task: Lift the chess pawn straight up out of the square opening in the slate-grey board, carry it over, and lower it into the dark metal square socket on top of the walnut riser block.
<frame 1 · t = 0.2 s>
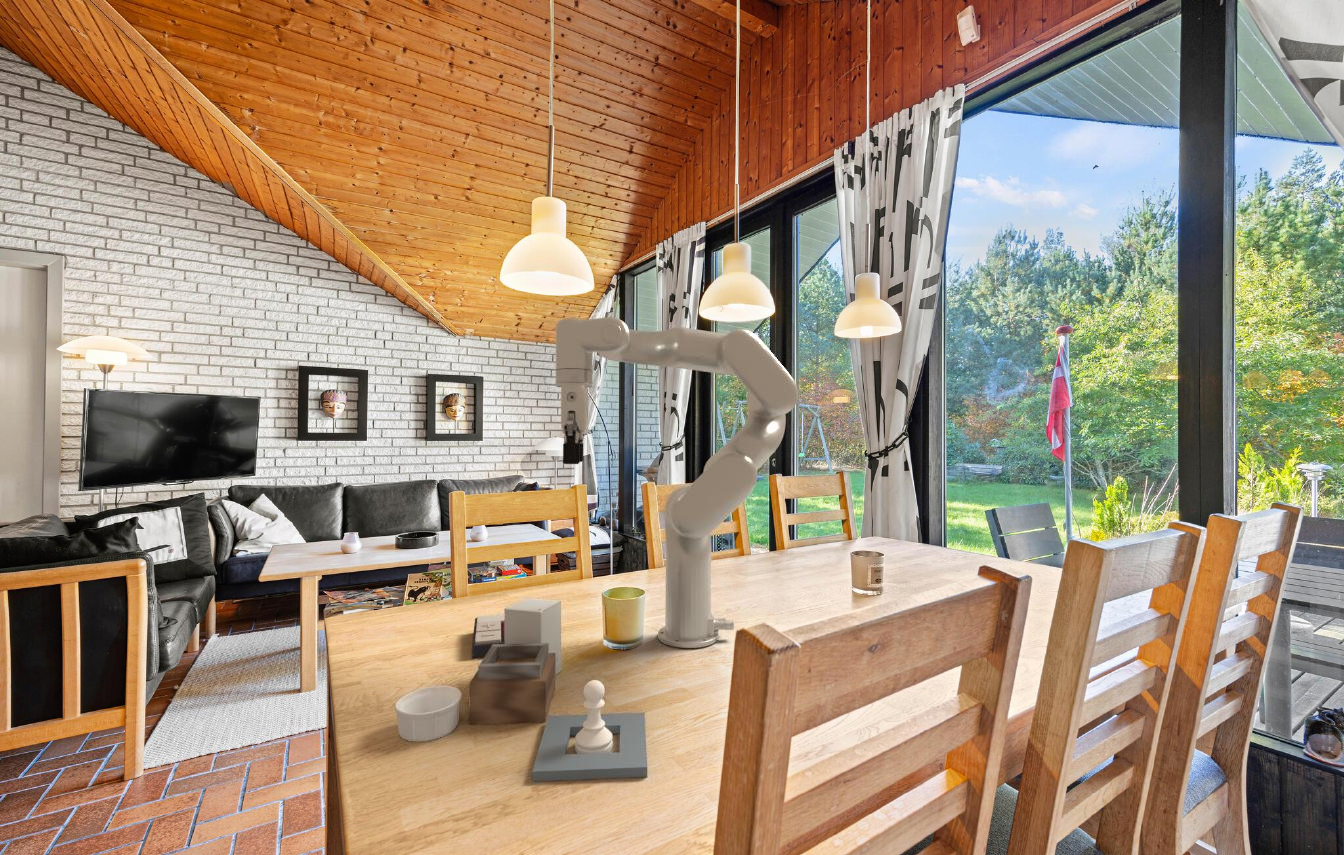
hand: (573, 462, 118), 37 cm above the table, tool pointing down, fingers open, 9 cm apart
supplement box: (533, 677, 100), on the table
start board: (593, 748, 77), on the table
riser socket: (515, 705, 89), on the table
chess pawn: (593, 749, 77), resting in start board
ramekin: (428, 730, 82), on the table
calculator: (502, 645, 116), on the table
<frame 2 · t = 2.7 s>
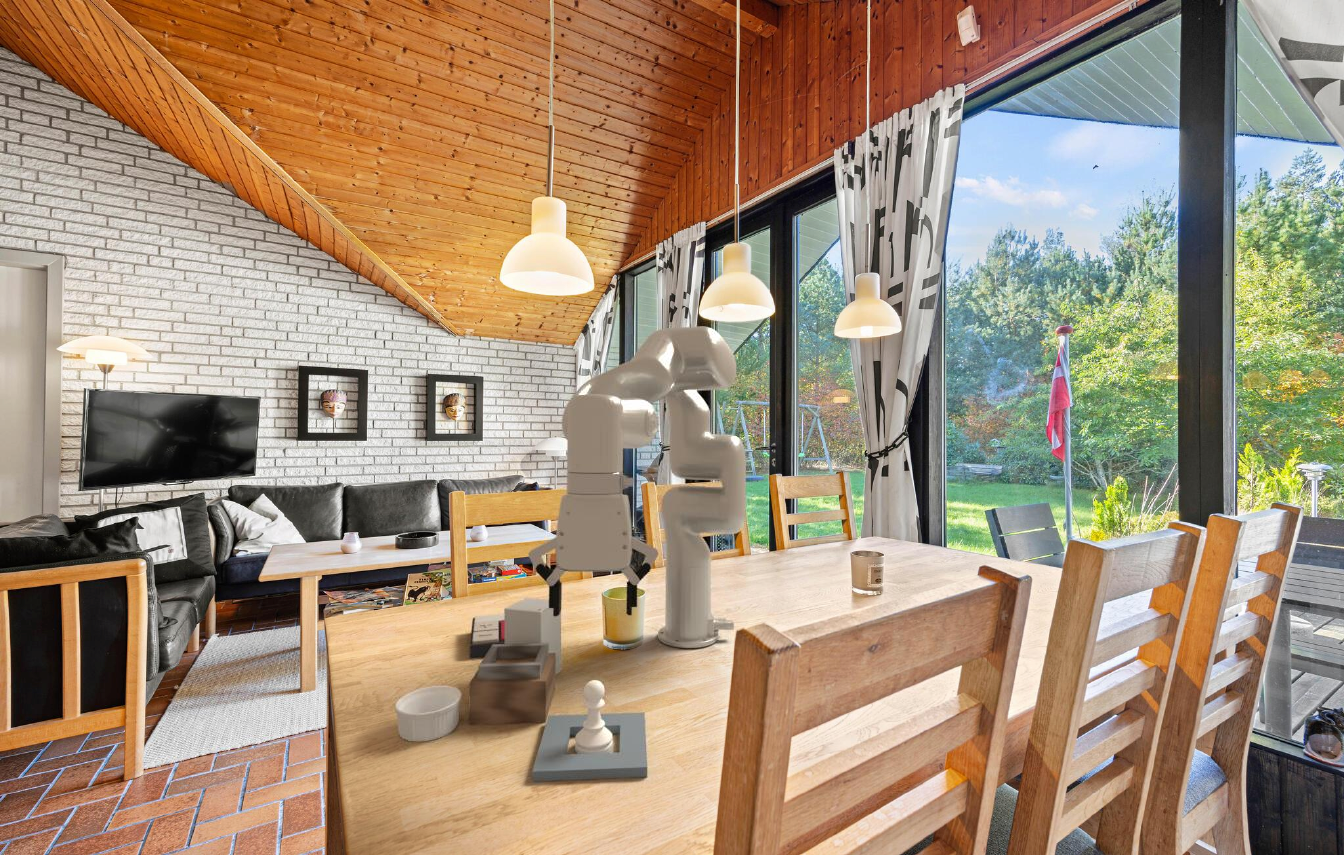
hand: (593, 612, 77), 18 cm above the table, tool pointing down, fingers open, 9 cm apart
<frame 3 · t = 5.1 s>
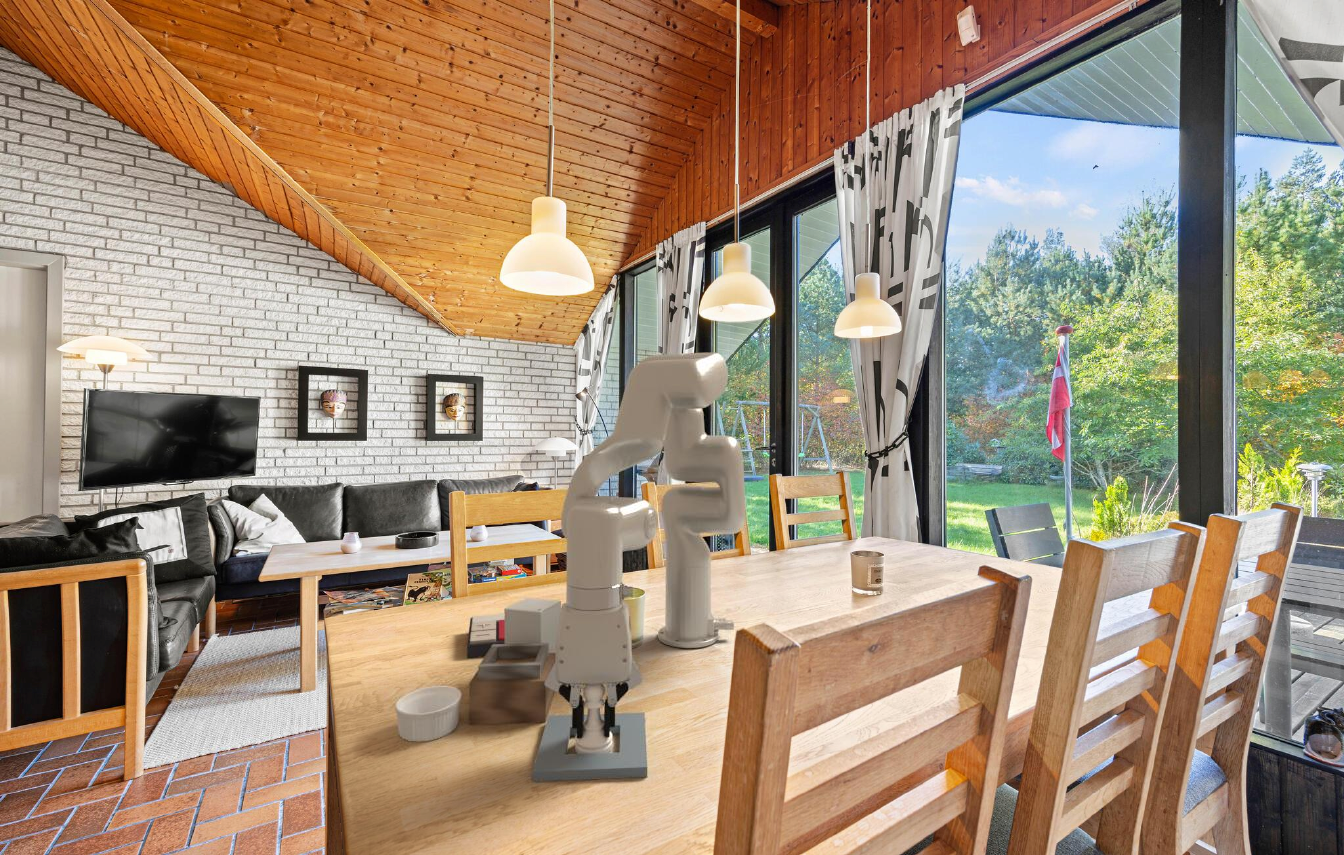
hand: (593, 731, 77), 2 cm above the table, tool pointing down, fingers closed on chess pawn, 3 cm apart
chess pawn: (593, 749, 77), resting in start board, touching gripper
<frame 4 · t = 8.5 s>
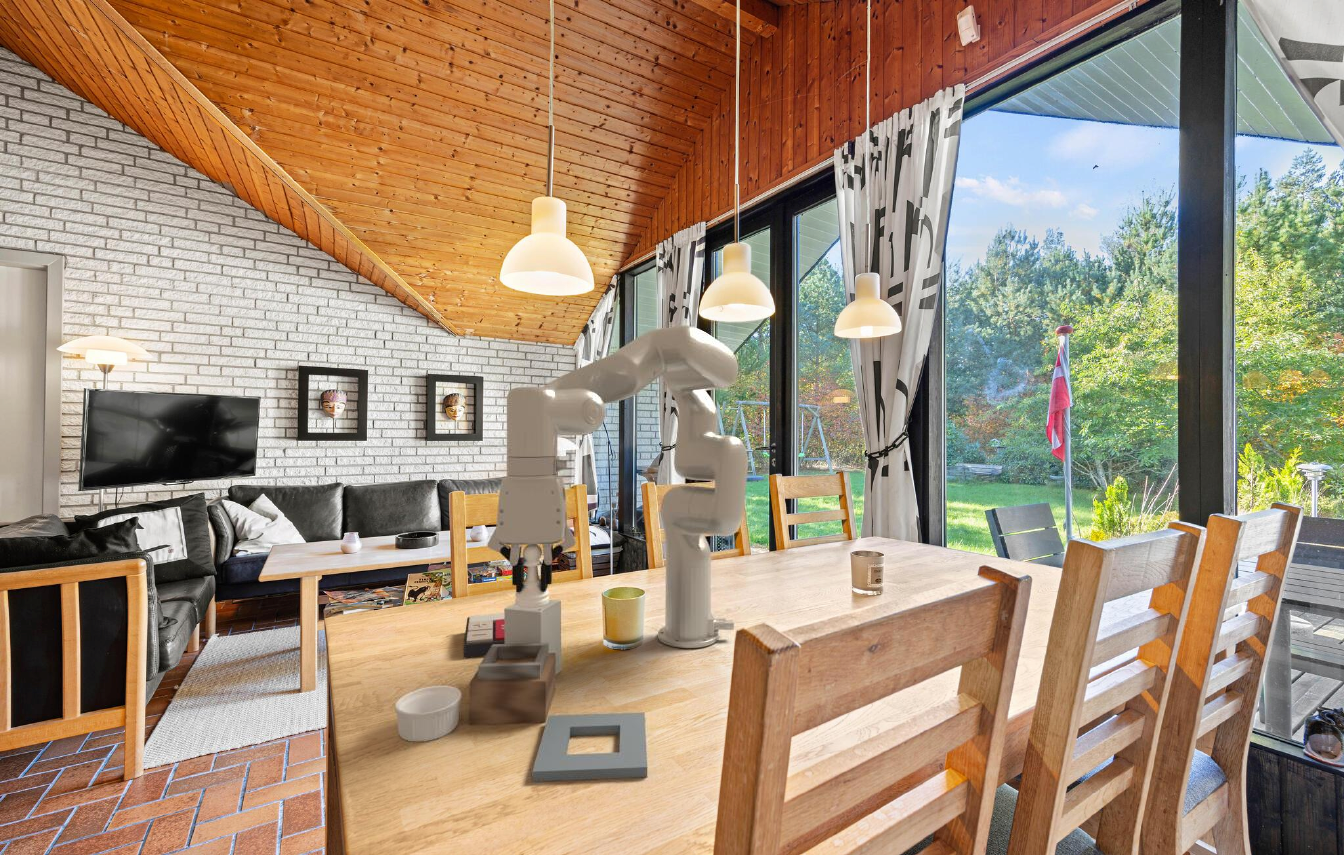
hand: (532, 588, 87), 19 cm above the table, tool pointing down, fingers closed on chess pawn, 3 cm apart
chess pawn: (532, 604, 87), point 16 cm above the table, touching gripper
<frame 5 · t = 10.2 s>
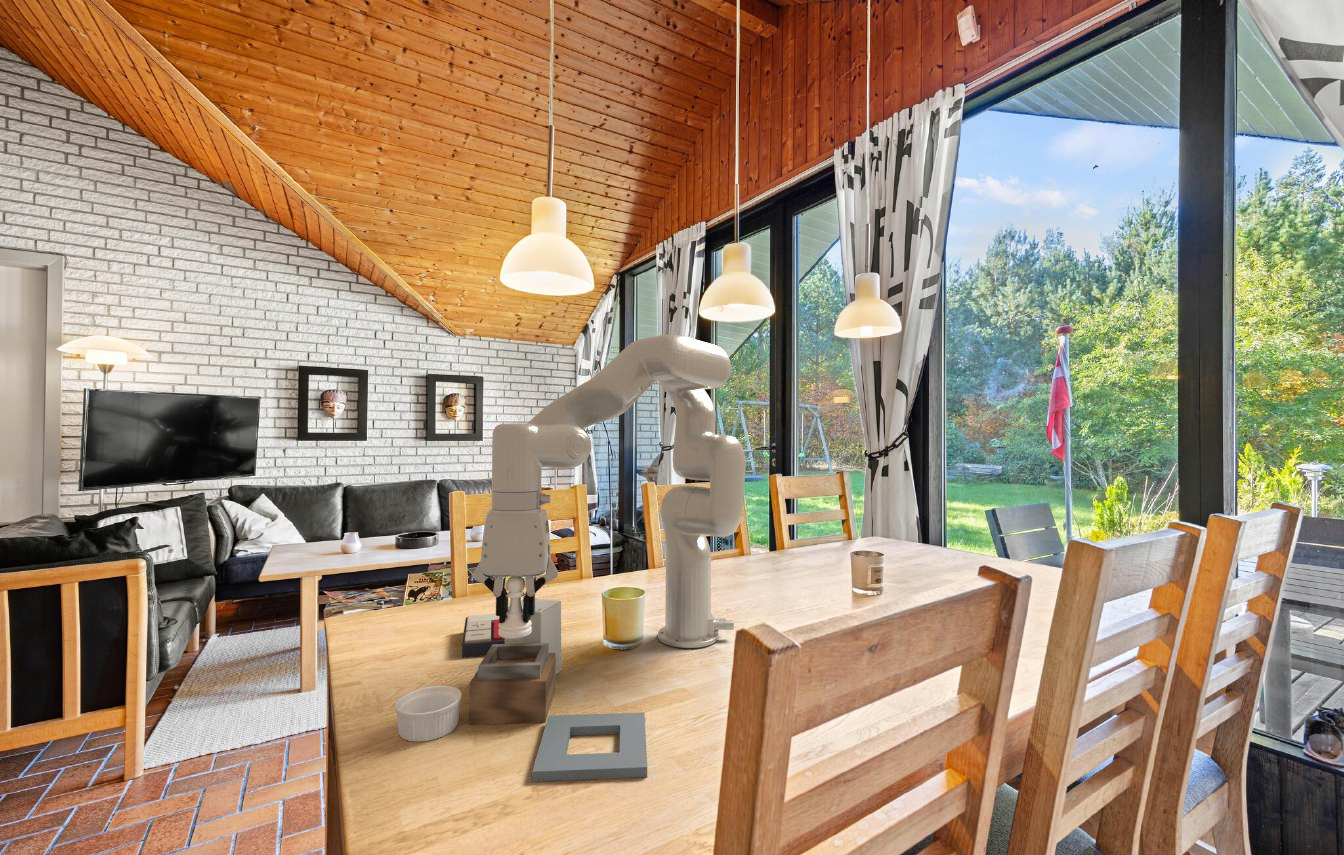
hand: (515, 618, 89), 13 cm above the table, tool pointing down, fingers closed on chess pawn, 3 cm apart
chess pawn: (515, 634, 89), point 11 cm above the table, touching gripper
when the fingers open (10 cm above the table, at t = 11.7 s): chess pawn drops 1 cm, resting on riser socket.
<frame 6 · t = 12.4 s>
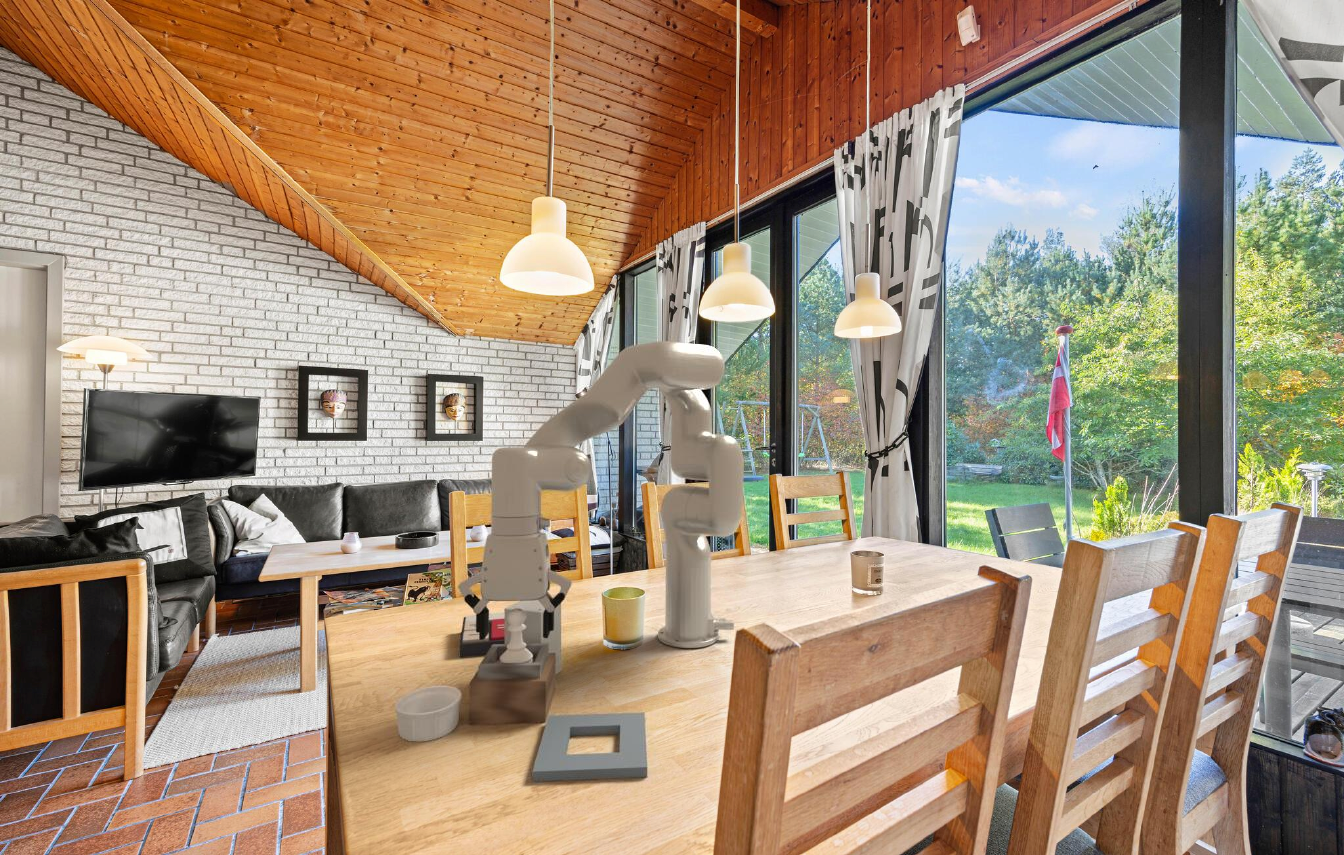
hand: (515, 636, 89), 11 cm above the table, tool pointing down, fingers open, 9 cm apart
chess pawn: (516, 667, 89), point 6 cm above the table, touching riser socket
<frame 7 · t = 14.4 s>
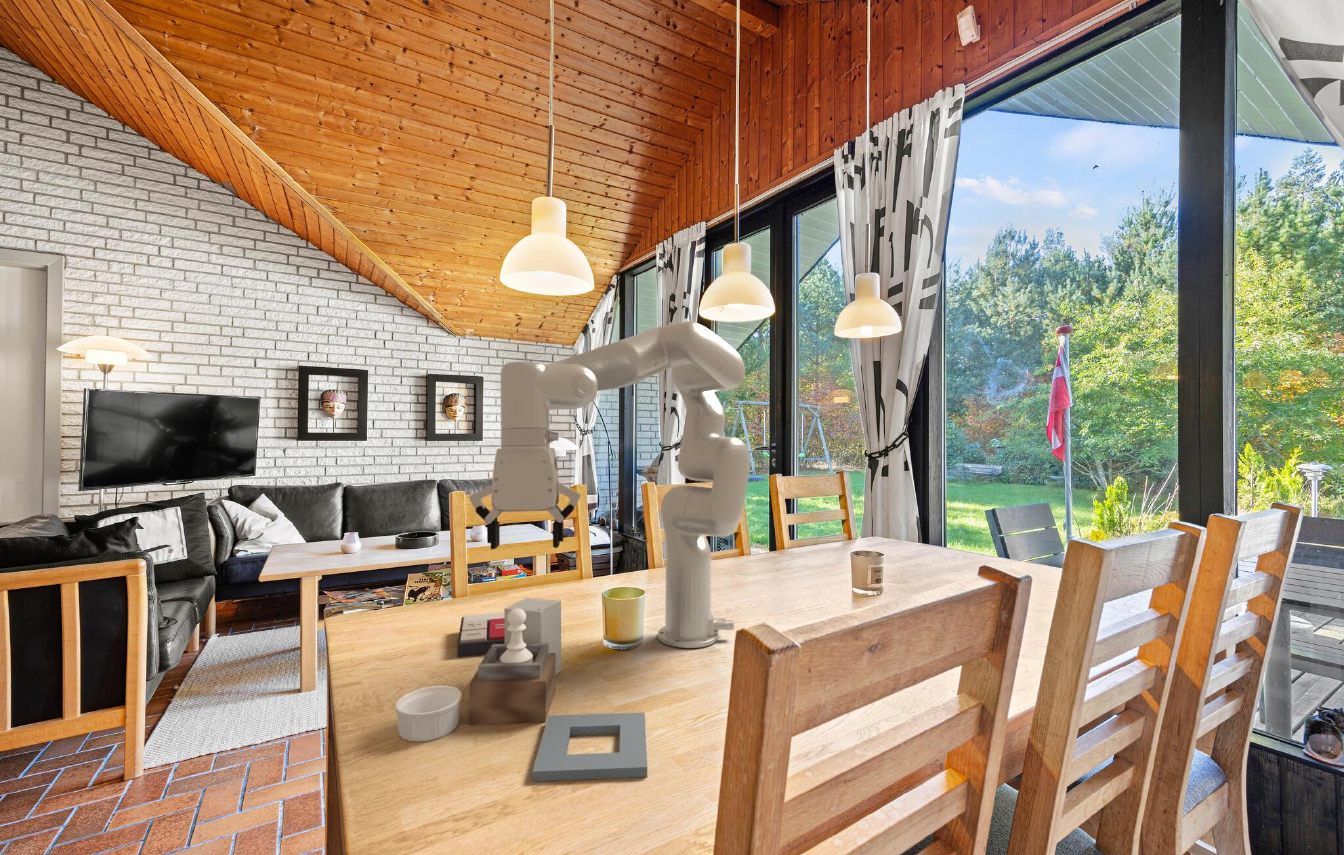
hand: (525, 546, 91), 24 cm above the table, tool pointing down, fingers open, 9 cm apart
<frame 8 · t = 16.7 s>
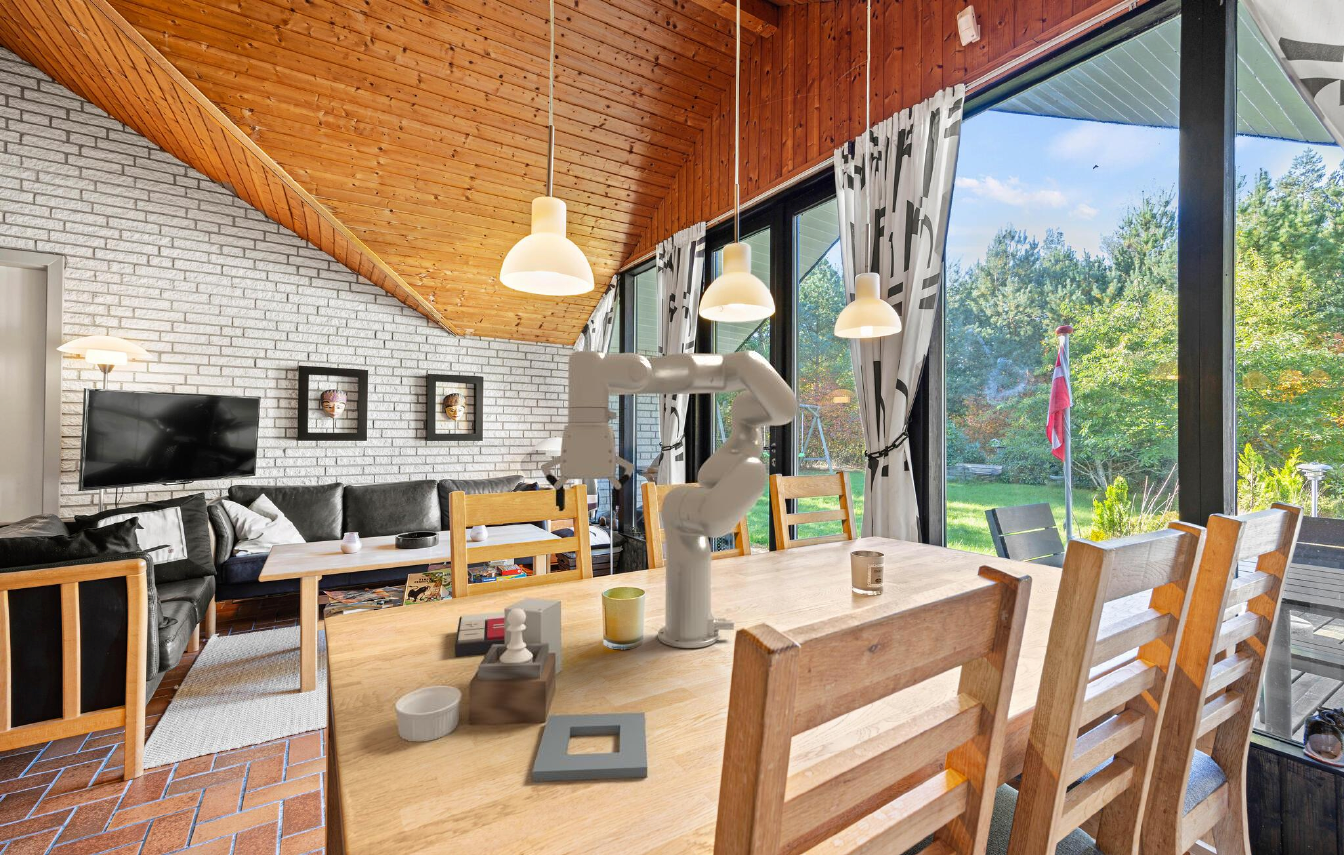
hand: (588, 510, 106), 28 cm above the table, tool pointing down, fingers open, 9 cm apart
at the end: chess pawn 0.1 cm off-centre on the riser socket, point 5.8 cm above the riser socket's base; chess pawn tilted 0°; the gripper is holding nothing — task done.
